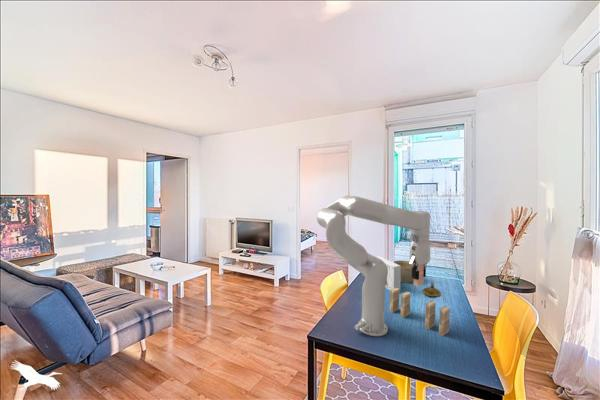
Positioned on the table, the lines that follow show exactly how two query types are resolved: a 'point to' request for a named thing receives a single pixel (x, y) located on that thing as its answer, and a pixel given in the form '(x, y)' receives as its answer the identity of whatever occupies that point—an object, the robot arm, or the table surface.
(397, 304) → the head tile
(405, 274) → the planter bowl
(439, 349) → the table surface
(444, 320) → the tile
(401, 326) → the table surface
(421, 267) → the tile
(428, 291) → the seal
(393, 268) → the skincare box
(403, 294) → the tile
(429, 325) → the tile
